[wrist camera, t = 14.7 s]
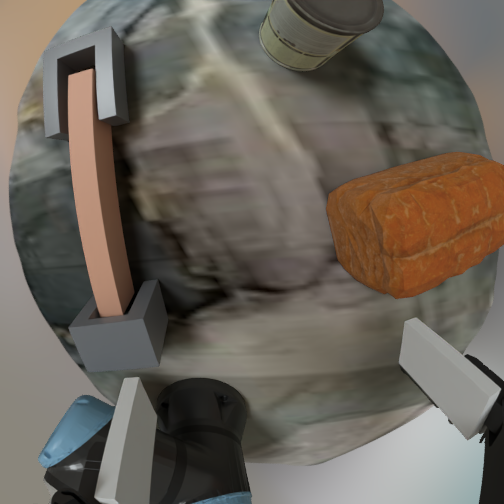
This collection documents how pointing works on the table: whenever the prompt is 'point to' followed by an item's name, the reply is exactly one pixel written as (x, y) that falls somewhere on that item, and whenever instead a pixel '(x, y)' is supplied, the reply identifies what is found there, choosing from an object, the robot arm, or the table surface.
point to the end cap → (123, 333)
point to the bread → (418, 222)
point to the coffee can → (315, 29)
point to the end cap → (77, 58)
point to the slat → (97, 197)
